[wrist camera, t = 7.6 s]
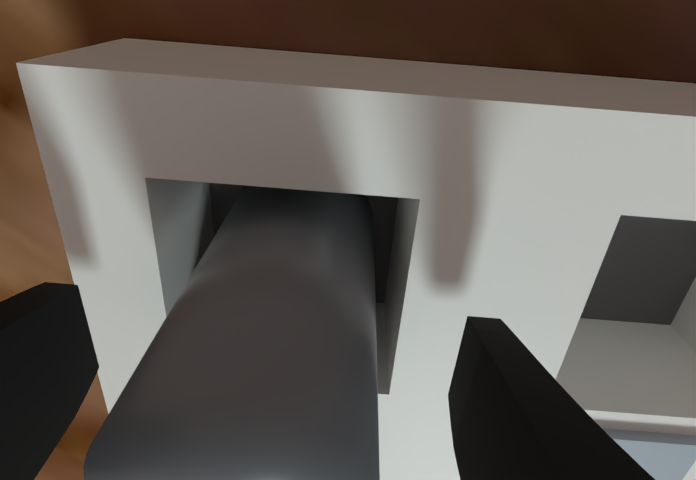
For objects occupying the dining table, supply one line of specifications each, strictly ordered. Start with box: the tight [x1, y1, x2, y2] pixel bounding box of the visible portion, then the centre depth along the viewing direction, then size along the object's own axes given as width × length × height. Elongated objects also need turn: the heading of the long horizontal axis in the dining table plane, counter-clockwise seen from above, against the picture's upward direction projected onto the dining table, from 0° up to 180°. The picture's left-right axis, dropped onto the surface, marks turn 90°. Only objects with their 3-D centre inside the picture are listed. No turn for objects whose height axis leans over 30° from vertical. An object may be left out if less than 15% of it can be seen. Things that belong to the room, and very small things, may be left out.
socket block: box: [16, 38, 696, 480], centre depth 12 cm, size 18×11×4 cm, turn 86°
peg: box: [84, 185, 380, 480], centre depth 10 cm, size 4×4×8 cm
